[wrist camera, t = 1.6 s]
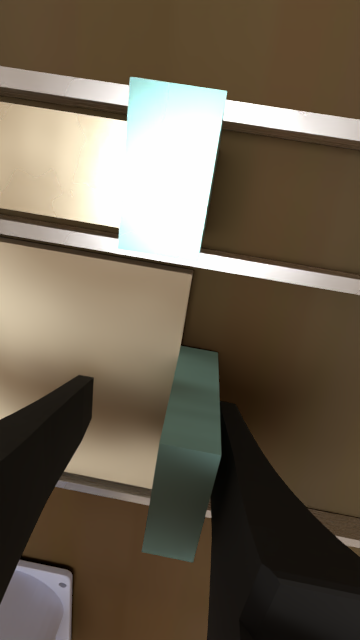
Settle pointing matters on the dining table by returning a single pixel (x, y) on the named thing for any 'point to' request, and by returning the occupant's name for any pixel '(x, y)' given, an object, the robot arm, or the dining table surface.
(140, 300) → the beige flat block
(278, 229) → the dining table surface
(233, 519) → the robot arm
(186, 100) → the lane rails
